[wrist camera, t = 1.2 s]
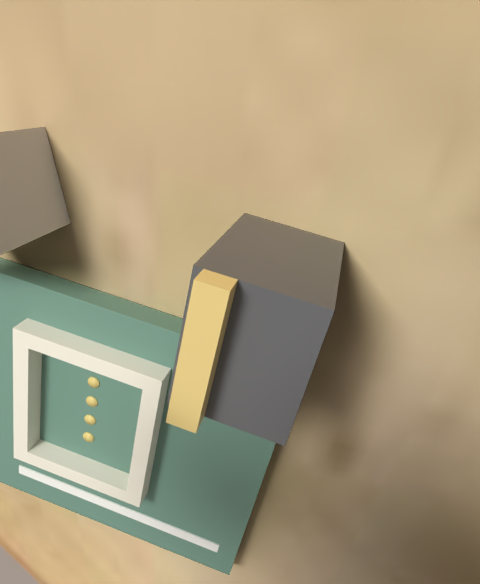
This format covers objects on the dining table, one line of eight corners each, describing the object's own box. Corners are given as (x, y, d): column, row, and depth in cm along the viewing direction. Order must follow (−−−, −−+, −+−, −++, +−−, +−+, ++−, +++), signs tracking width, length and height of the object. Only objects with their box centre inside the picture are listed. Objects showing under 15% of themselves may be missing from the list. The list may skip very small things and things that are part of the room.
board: (303, 359, 20) (296, 388, 18) (234, 555, 26) (224, 593, 24) (-19, 251, 22) (-57, 267, 20) (-11, 457, 28) (-39, 484, 26)
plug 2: (344, 242, 17) (332, 324, 11) (307, 348, 20) (280, 464, 14) (245, 212, 18) (182, 276, 12) (219, 319, 20) (156, 419, 14)
